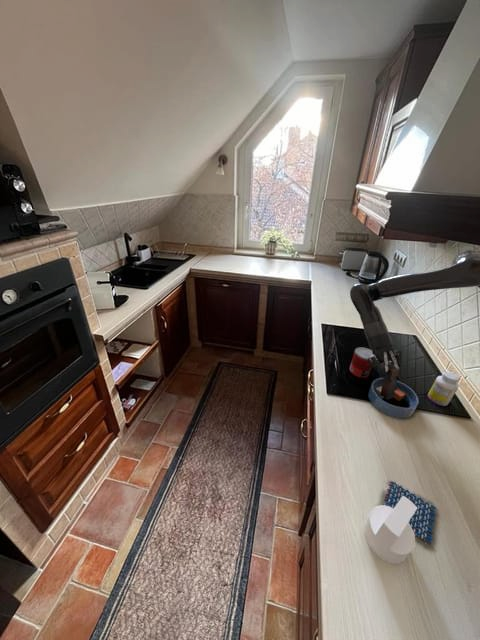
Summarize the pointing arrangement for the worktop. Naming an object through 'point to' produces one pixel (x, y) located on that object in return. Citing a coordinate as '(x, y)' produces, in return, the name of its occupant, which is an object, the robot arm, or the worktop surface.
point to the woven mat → (424, 512)
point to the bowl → (392, 409)
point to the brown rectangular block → (389, 388)
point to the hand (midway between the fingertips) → (394, 381)
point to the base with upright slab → (391, 531)
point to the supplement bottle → (444, 388)
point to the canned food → (361, 362)
